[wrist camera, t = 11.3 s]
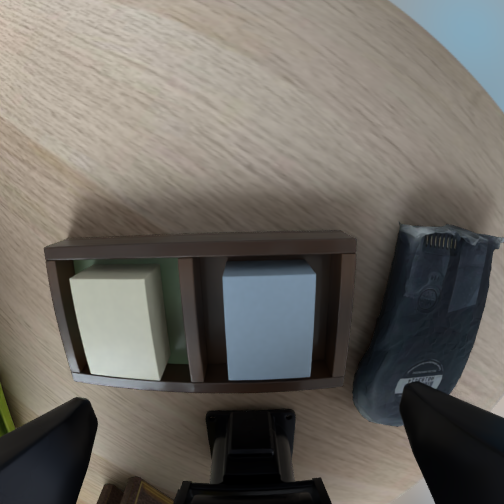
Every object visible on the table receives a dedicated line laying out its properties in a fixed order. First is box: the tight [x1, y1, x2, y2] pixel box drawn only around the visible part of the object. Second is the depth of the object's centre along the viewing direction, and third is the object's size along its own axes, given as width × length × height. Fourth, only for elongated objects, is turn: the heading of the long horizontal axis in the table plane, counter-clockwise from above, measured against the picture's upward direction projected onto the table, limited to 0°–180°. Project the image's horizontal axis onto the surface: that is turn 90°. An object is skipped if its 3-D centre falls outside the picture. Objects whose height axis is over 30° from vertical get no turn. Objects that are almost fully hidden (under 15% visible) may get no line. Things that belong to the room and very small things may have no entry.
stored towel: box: [222, 259, 316, 380], centre depth 17 cm, size 6×4×3 cm
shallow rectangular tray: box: [44, 230, 357, 393], centre depth 18 cm, size 9×17×3 cm, turn 91°
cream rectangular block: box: [69, 264, 171, 381], centre depth 17 cm, size 6×4×3 cm
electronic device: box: [352, 222, 504, 427], centre depth 18 cm, size 9×6×15 cm
